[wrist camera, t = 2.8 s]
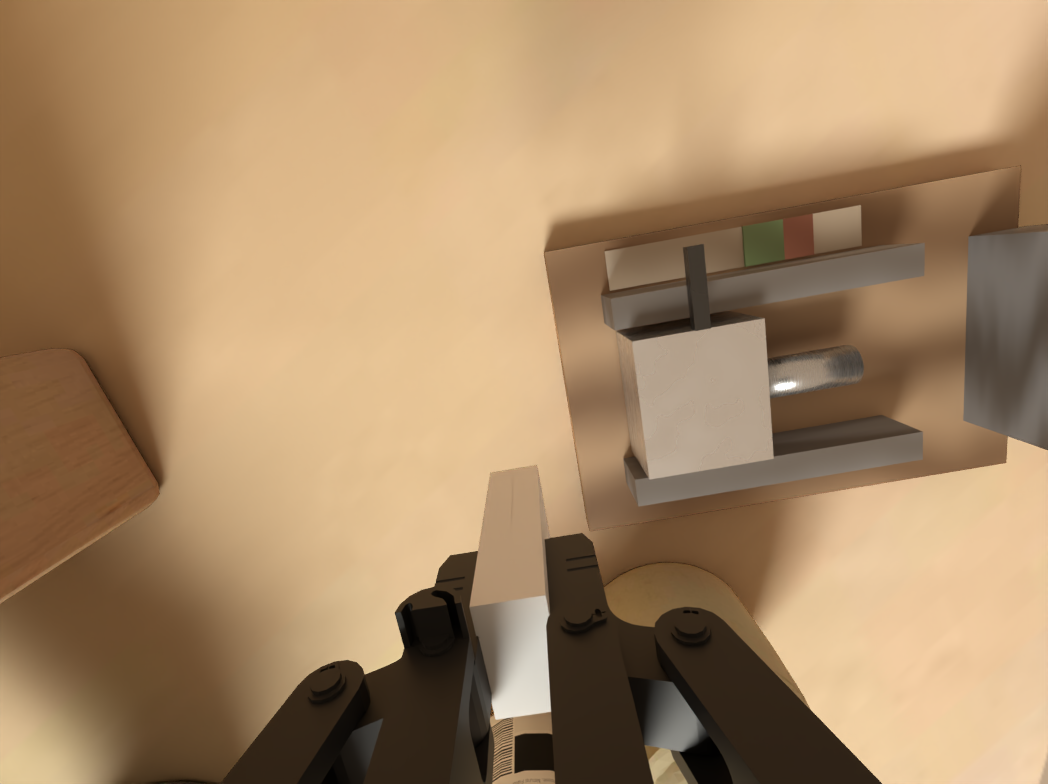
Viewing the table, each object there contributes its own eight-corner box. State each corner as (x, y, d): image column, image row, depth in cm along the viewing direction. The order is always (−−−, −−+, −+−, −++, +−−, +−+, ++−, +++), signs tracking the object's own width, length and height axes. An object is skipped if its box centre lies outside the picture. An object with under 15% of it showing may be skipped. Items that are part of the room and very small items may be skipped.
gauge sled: (829, 417, 28) (888, 446, 24) (631, 450, 29) (653, 485, 24) (822, 220, 26) (887, 210, 21) (606, 259, 26) (624, 258, 22)
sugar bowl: (778, 719, 35) (960, 1037, 21) (625, 766, 36) (697, 1103, 22) (721, 536, 32) (890, 761, 18) (553, 591, 33) (582, 851, 18)
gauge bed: (991, 452, 31) (1193, 531, 22) (586, 519, 32) (614, 623, 22) (1003, 169, 27) (1253, 119, 18) (543, 252, 28) (556, 246, 19)
